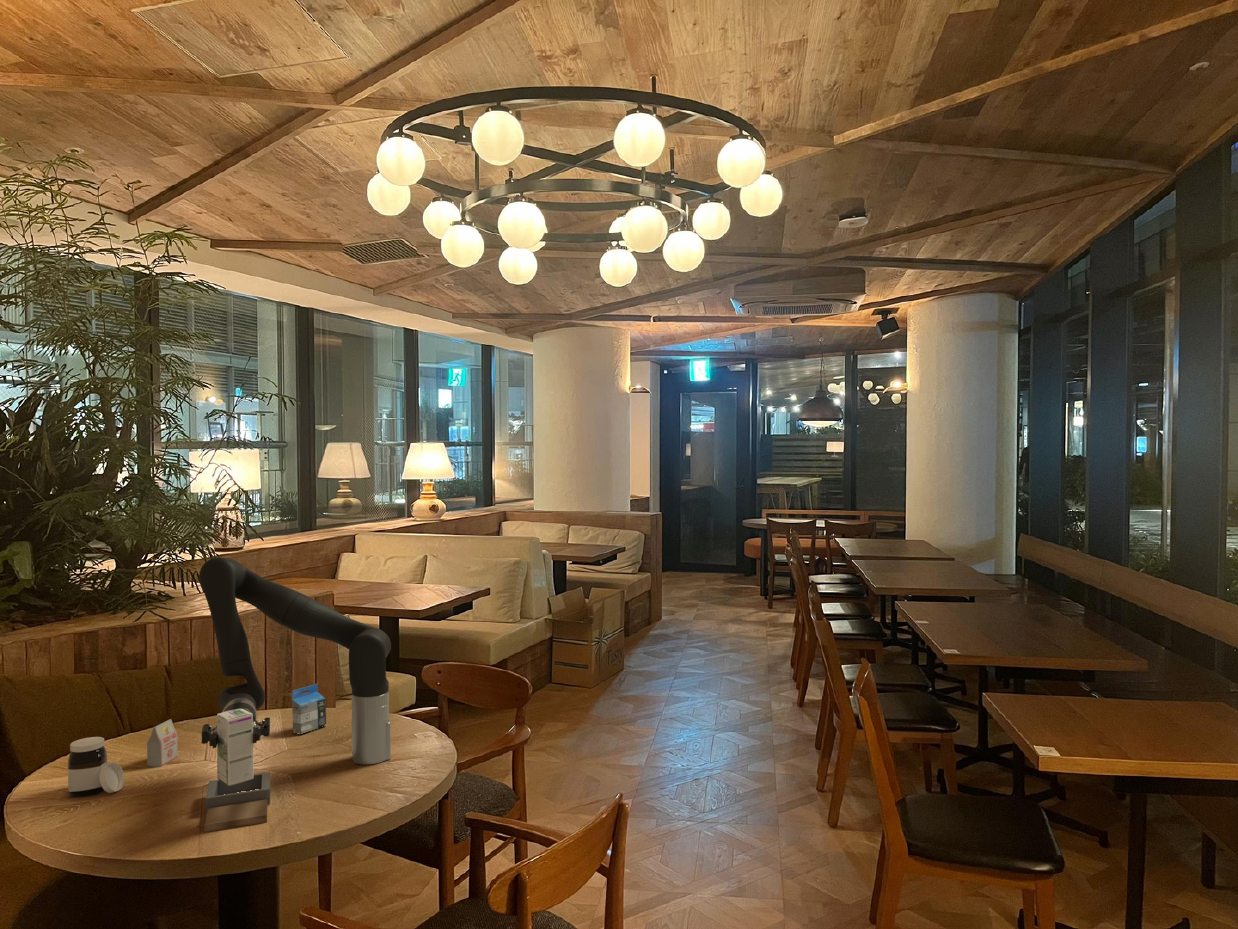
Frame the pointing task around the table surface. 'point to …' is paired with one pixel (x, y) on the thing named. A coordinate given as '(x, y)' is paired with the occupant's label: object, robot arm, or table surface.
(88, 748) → the spread jar
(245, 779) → the syrup box
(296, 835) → the table surface
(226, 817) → the walnut pad
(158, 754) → the white gable top carton
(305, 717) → the label tape box
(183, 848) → the table surface
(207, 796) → the gray open storage bin
